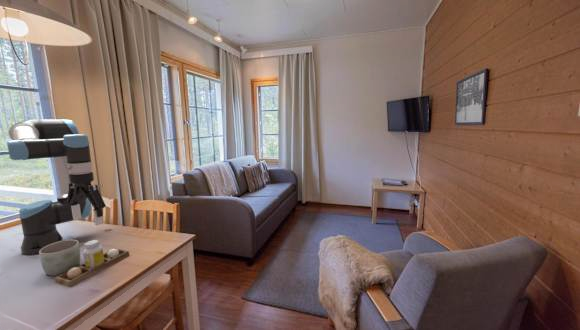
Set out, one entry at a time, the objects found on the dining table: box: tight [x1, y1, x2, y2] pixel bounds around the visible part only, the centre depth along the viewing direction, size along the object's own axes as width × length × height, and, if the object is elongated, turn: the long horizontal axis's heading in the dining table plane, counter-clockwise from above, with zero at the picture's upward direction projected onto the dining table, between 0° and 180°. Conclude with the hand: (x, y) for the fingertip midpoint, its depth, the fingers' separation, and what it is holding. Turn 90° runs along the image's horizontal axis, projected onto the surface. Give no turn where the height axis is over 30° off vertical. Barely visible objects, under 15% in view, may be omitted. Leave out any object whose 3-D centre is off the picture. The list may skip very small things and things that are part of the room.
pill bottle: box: [82, 239, 105, 269], centre depth 105 cm, size 6×6×12 cm
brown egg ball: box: [67, 266, 82, 279], centre depth 99 cm, size 4×4×4 cm
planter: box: [38, 239, 81, 276], centre depth 104 cm, size 12×12×11 cm
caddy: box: [54, 247, 130, 288], centre depth 106 cm, size 9×24×2 cm, turn 161°
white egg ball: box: [106, 248, 119, 259], centre depth 113 cm, size 4×4×4 cm
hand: (88, 221), depth 103 cm, fingers open, 13 cm apart
